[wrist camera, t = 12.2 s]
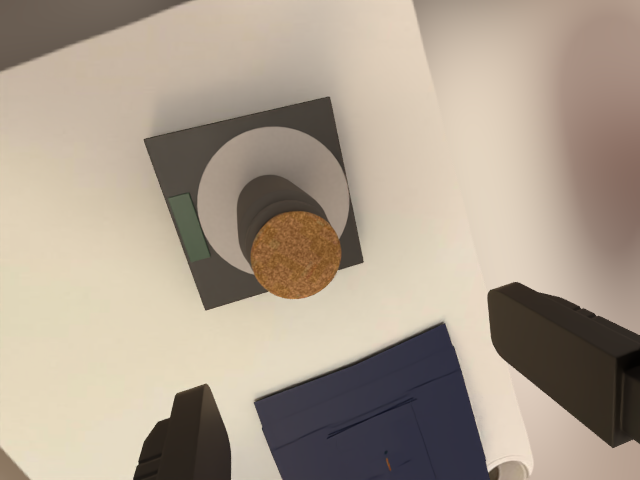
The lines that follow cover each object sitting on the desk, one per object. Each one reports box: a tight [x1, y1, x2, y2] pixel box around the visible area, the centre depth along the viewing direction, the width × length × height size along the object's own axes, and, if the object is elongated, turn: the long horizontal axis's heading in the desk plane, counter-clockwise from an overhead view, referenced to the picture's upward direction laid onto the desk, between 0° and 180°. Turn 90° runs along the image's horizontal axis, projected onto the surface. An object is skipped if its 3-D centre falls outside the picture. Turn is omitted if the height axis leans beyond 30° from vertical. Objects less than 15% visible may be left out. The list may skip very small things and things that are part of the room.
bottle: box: [237, 175, 341, 299], centre depth 26 cm, size 6×6×15 cm
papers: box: [254, 323, 490, 480], centre depth 46 cm, size 24×30×4 cm
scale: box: [144, 97, 364, 310], centre depth 34 cm, size 16×16×3 cm
